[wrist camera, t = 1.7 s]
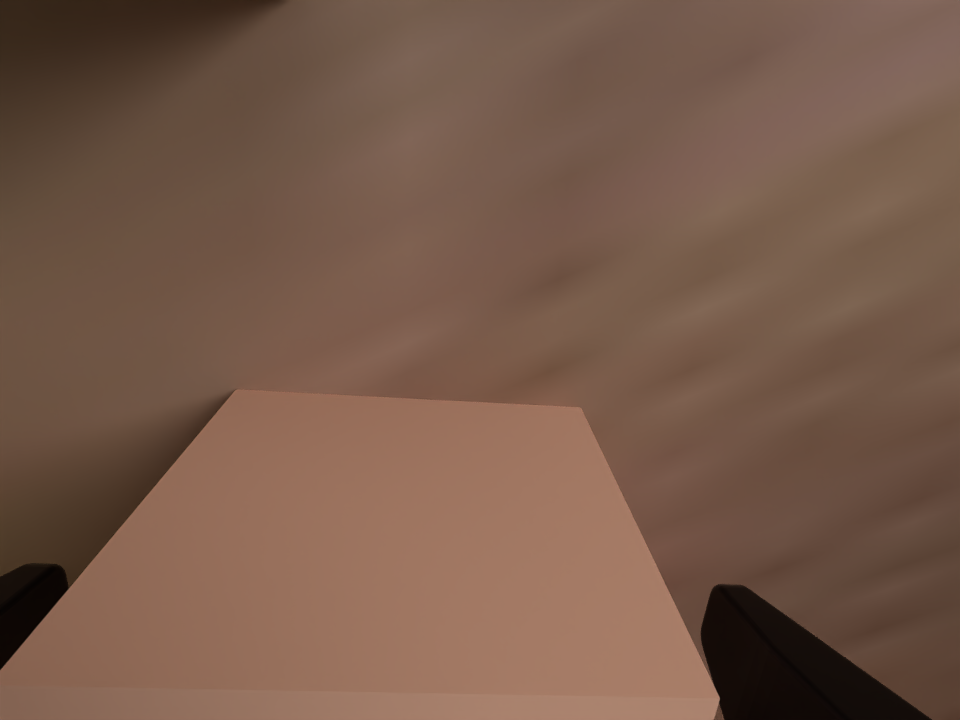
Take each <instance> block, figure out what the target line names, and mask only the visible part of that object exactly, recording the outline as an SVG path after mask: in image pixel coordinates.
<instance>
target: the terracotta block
mask: <svg viewBox="0 0 960 720" xmlns="http://www.w3.org/2000/svg"><path fill="white" fill-rule="evenodd" d="M719 701H720V697H719V695H718V693H717V691H716V689H715V687H714V685H713V683H712V681H711V678H710V676H709V674H708V672H707V670H706V668H705V666H704V664H703V662H702V660H701V658H700V656H699V653H698V651H697V649H696V647H695V645H694V643H693V641H692V639H691V637H690V635H689V633H688V630H687V628H686V626H685V624H684V622H683V620H682V618H681V616H680V614H679V612H678V610H677V608H676V605H675V603H674V601H673V599H672V597H671V595H670V593H669V591H668V589H667V587H666V585H665V582H664V580H663V578H662V576H661V574H660V572H659V570H658V568H657V566H656V564H655V562H654V560H653V557H652V555H651V553H650V551H649V549H648V547H647V545H646V543H645V541H644V539H643V537H642V534H641V532H640V530H639V528H638V526H637V524H636V522H635V520H634V518H633V516H632V514H631V512H630V509H629V507H628V505H627V503H626V501H625V499H624V497H623V495H622V493H621V491H620V489H619V486H618V484H617V482H616V480H615V478H614V476H613V474H612V472H611V470H610V468H609V466H608V464H607V461H606V459H605V457H604V455H603V453H602V451H601V449H600V447H599V445H598V443H597V441H596V438H595V436H594V434H593V432H592V430H591V428H590V426H589V424H588V422H587V420H586V418H585V416H584V413H583V411H582V409H581V407H563V406H543V405H524V404H505V403H486V402H467V401H448V400H429V399H410V398H391V397H372V396H353V395H334V394H315V393H296V392H277V391H258V390H239V389H236V390H235V391H234V392H233V394H232V395H231V396H230V397H229V398H228V399H227V401H226V402H225V403H224V404H223V405H222V407H221V408H220V409H219V410H218V411H217V413H216V414H215V415H214V416H213V417H212V419H211V420H210V421H209V422H208V423H207V425H206V426H205V427H204V428H203V429H202V430H201V432H200V433H199V434H198V435H197V436H196V438H195V439H194V440H193V441H192V442H191V444H190V445H189V446H188V447H187V448H186V450H185V451H184V452H183V453H182V454H181V456H180V457H179V458H178V459H177V460H176V462H175V463H174V464H173V465H172V466H171V467H170V469H169V470H168V471H167V472H166V473H165V475H164V476H163V477H162V478H161V479H160V481H159V482H158V483H157V484H156V485H155V487H154V488H153V489H152V490H151V491H150V493H149V494H148V495H147V496H146V497H145V498H144V500H143V501H142V502H141V503H140V504H139V506H138V507H137V508H136V509H135V510H134V512H133V513H132V514H131V515H130V516H129V518H128V519H127V520H126V521H125V522H124V524H123V525H122V526H121V527H120V528H119V530H118V531H117V532H116V533H115V534H114V535H113V537H112V538H111V539H110V540H109V541H108V543H107V544H106V545H105V546H104V547H103V549H102V550H101V551H100V552H99V553H98V555H97V556H96V557H95V558H94V559H93V561H92V562H91V563H90V564H89V565H88V566H87V568H86V569H85V570H84V571H83V572H82V574H81V575H80V576H79V577H78V578H77V580H76V581H75V582H74V583H73V584H72V586H71V587H70V588H69V589H68V590H67V592H66V593H65V594H64V595H63V596H62V598H61V599H60V600H59V601H58V602H57V603H56V605H55V606H54V607H53V608H52V609H51V611H50V612H49V613H48V614H47V615H46V617H45V618H44V619H43V620H42V621H41V623H40V624H39V625H38V626H37V627H36V629H35V630H34V631H33V632H32V633H31V634H30V636H29V637H28V638H27V639H26V640H25V642H24V643H23V644H22V645H21V646H20V648H19V649H18V650H17V651H16V652H15V654H14V655H13V656H12V657H11V658H10V660H9V661H8V662H7V663H6V664H5V666H4V667H3V668H2V669H1V670H0V720H714V717H715V714H716V711H717V707H718V704H719Z"/></svg>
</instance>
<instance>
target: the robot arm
mask: <svg viewBox="0 0 960 720" xmlns="http://www.w3.org/2000/svg"><path fill="white" fill-rule="evenodd" d="M68 589H69V587H68V582H67V577H66V573H65V570H64V569H63V568H62V567H61V566H60V565H57V564H39V563H31V564H25V565H23V566H21V567H19V568H17V569H15V570H13V571H11V572H9V573H7V574H5V575H3V576H1V577H0V670H1V669H2V668H3V667H4V666H5V664H6V663H7V662H8V661H9V660H10V658H11V657H12V656H13V655H14V654H15V652H16V651H17V650H18V649H19V648H20V646H21V645H22V644H23V643H24V642H25V640H26V639H27V638H28V637H29V636H30V634H31V633H32V632H33V631H34V630H35V629H36V627H37V626H38V625H39V624H40V623H41V621H42V620H43V619H44V618H45V617H46V615H47V614H48V613H49V612H50V611H51V609H52V608H53V607H54V606H55V605H56V603H57V602H58V601H59V600H60V599H61V598H62V596H63V595H64V594H65V593H66V592H67V590H68ZM701 641H702V646H703V650H704V653H705V657H706V660H707V663H708V667H709V670H710V673H711V677H712V680H713V683H714V687H715V689H716V691H717V693H718V695H719V697H720V701H719V704H720V707H721V710H722V714H723V717H724V720H932V719H930V718H929V717H928V716H926V715H925V714H923V713H922V712H921V711H919V710H918V709H916V708H915V707H914V706H912V705H911V704H909V703H908V702H907V701H905V700H904V699H902V698H901V697H900V696H898V695H897V694H895V693H894V692H893V691H891V690H890V689H888V688H887V687H886V686H884V685H883V684H881V683H880V682H879V681H877V680H876V679H874V678H873V677H872V676H870V675H869V674H867V673H866V672H865V671H863V670H862V669H860V668H859V667H858V666H856V665H855V664H853V663H852V662H851V661H849V660H848V659H846V658H845V657H844V656H842V655H841V654H839V653H838V652H837V651H835V650H834V649H832V648H831V647H830V646H828V645H827V644H825V643H824V642H823V641H821V640H820V639H818V638H817V637H816V636H814V635H813V634H811V633H810V632H809V631H807V630H806V629H804V628H803V627H802V626H800V625H799V624H797V623H796V622H795V621H793V620H792V619H790V618H789V617H788V616H786V615H785V614H783V613H782V612H781V611H779V610H778V609H776V608H775V607H774V606H772V605H771V604H769V603H768V602H767V601H765V600H764V599H762V598H761V597H760V596H758V595H757V594H755V593H754V592H753V591H751V590H750V589H748V588H747V587H745V586H743V585H730V584H718V585H716V586H714V587H713V589H712V591H711V593H710V597H709V600H708V604H707V608H706V612H705V615H704V619H703V623H702V627H701Z"/></svg>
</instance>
